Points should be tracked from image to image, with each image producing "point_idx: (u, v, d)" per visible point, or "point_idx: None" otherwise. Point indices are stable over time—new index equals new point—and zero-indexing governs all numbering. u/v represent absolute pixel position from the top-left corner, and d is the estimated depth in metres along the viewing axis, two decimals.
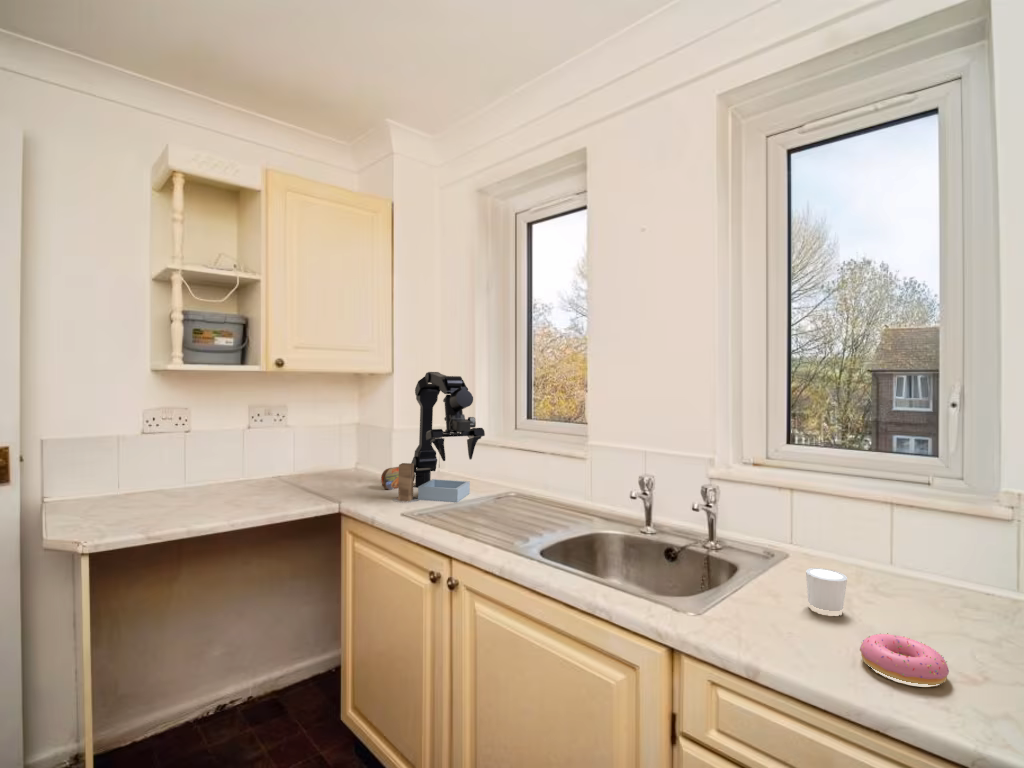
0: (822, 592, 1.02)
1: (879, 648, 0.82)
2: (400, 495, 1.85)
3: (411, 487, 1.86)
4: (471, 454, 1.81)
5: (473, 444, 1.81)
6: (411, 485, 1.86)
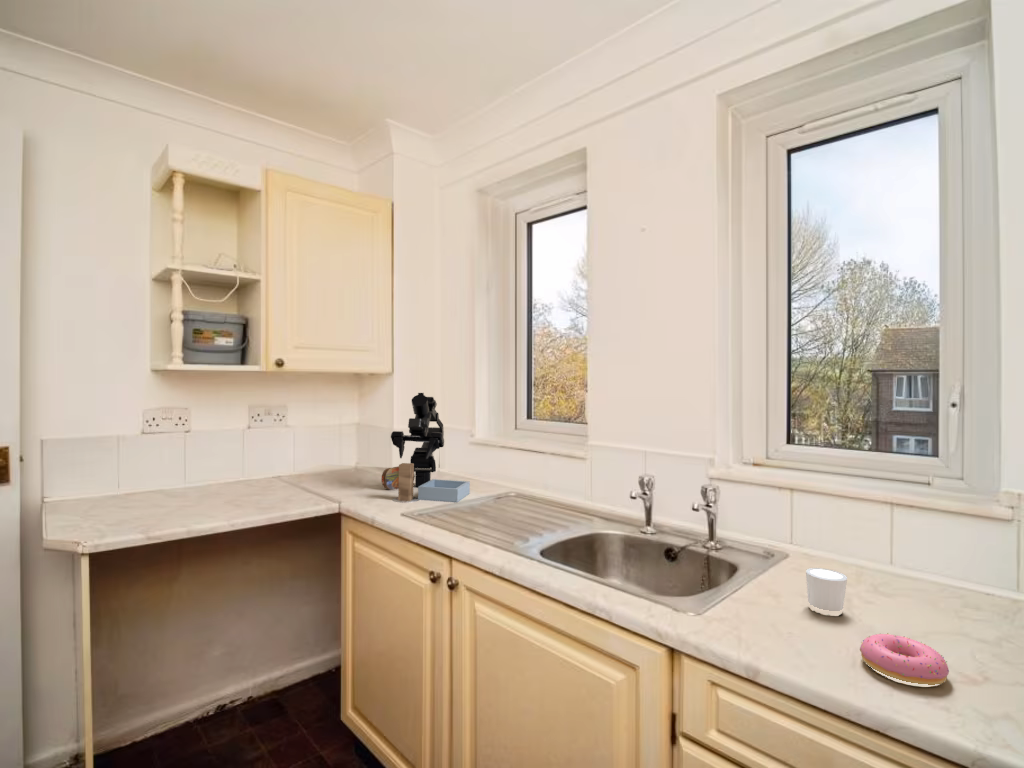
0: (822, 592, 1.02)
1: (879, 648, 0.82)
2: (400, 495, 1.85)
3: (411, 487, 1.86)
4: (426, 453, 1.94)
5: (429, 445, 1.96)
6: (411, 485, 1.86)
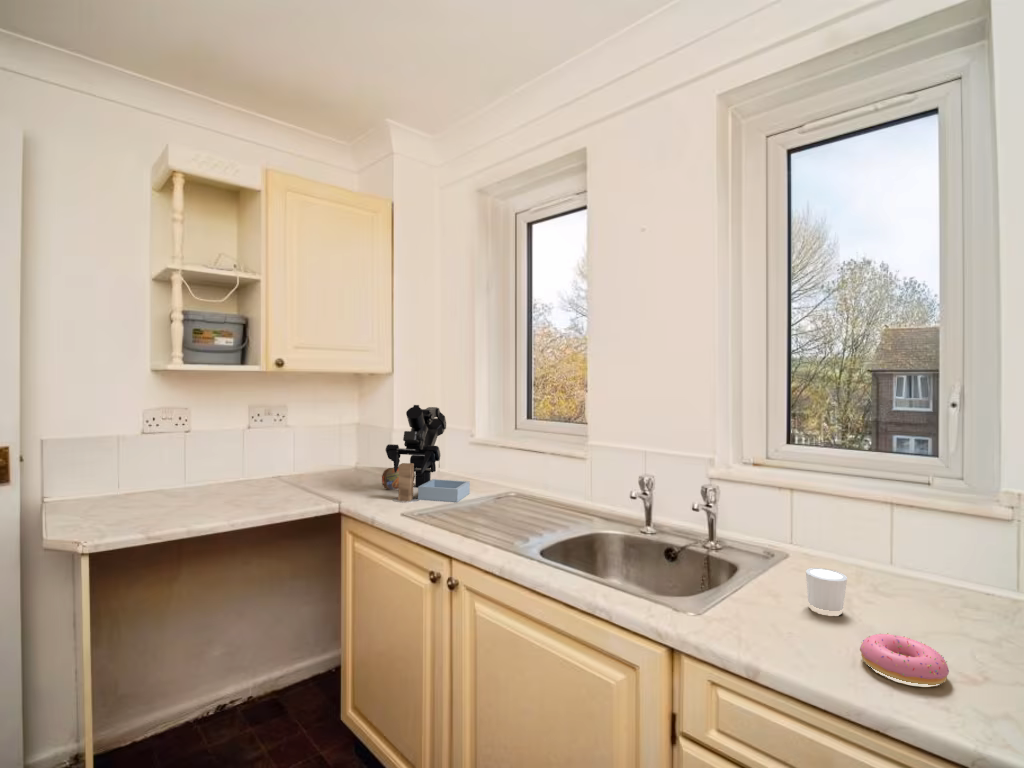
0: (822, 592, 1.02)
1: (879, 648, 0.82)
2: (400, 495, 1.85)
3: (411, 487, 1.86)
4: (422, 467, 1.89)
5: (425, 459, 1.90)
6: (411, 485, 1.86)
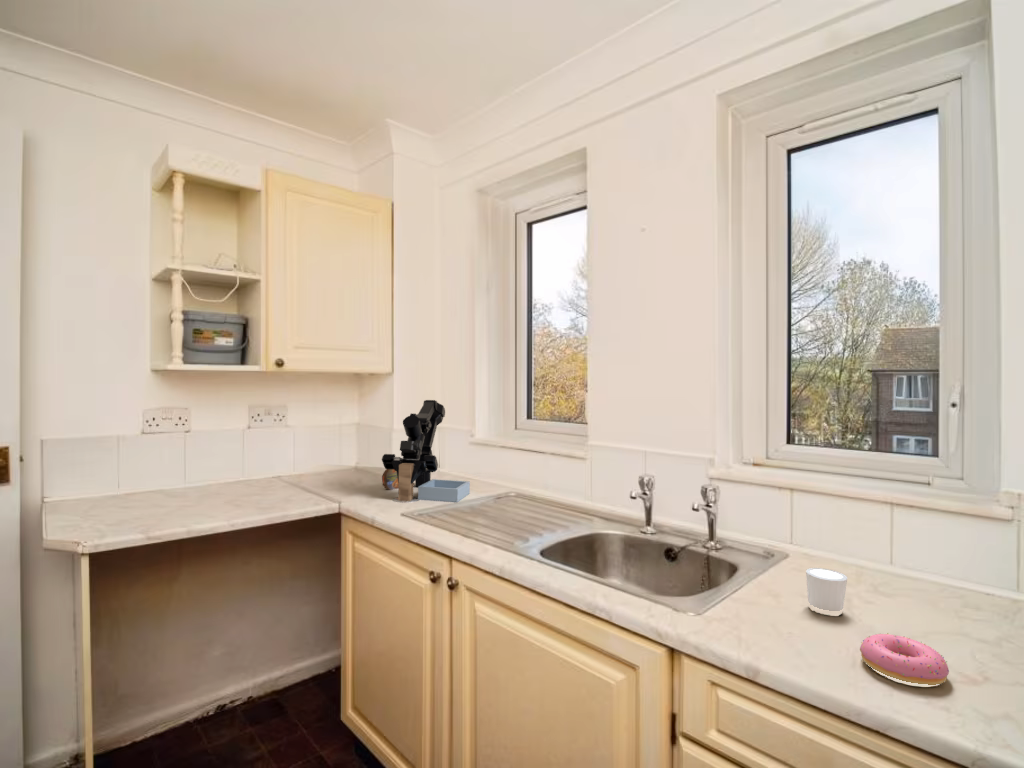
0: (822, 592, 1.02)
1: (879, 648, 0.82)
2: (400, 495, 1.85)
3: (411, 487, 1.86)
4: (412, 477, 1.85)
5: (415, 469, 1.87)
6: (411, 485, 1.86)
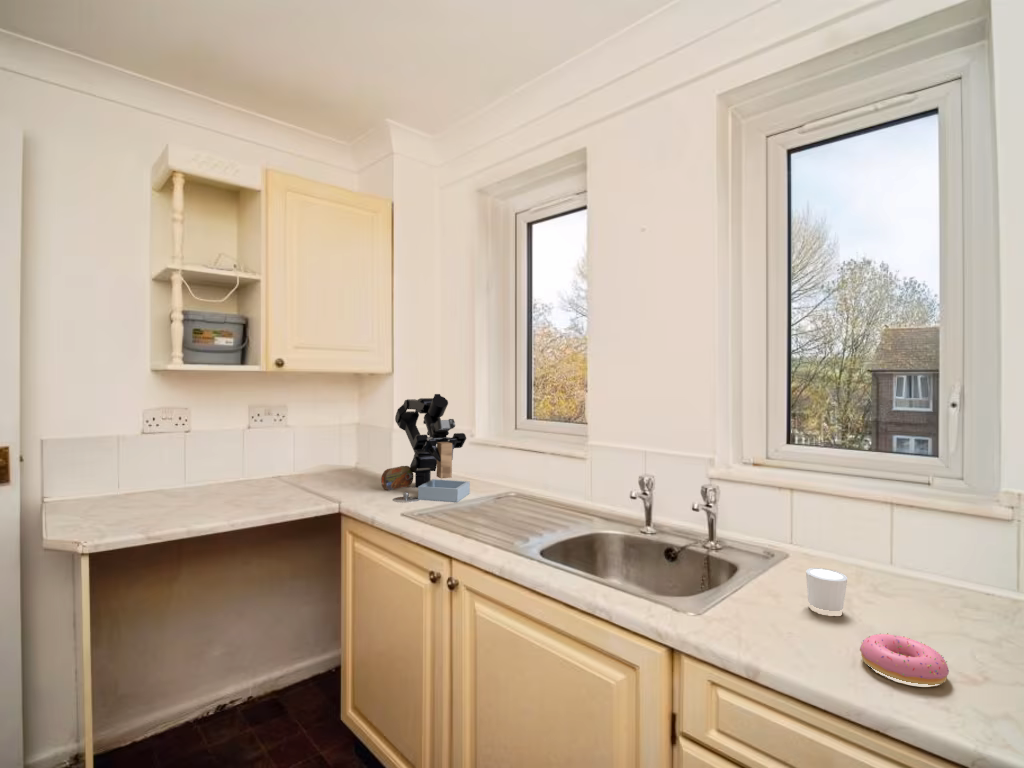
0: (822, 592, 1.02)
1: (879, 648, 0.82)
2: (442, 473, 1.89)
3: None
4: None
5: None
6: None
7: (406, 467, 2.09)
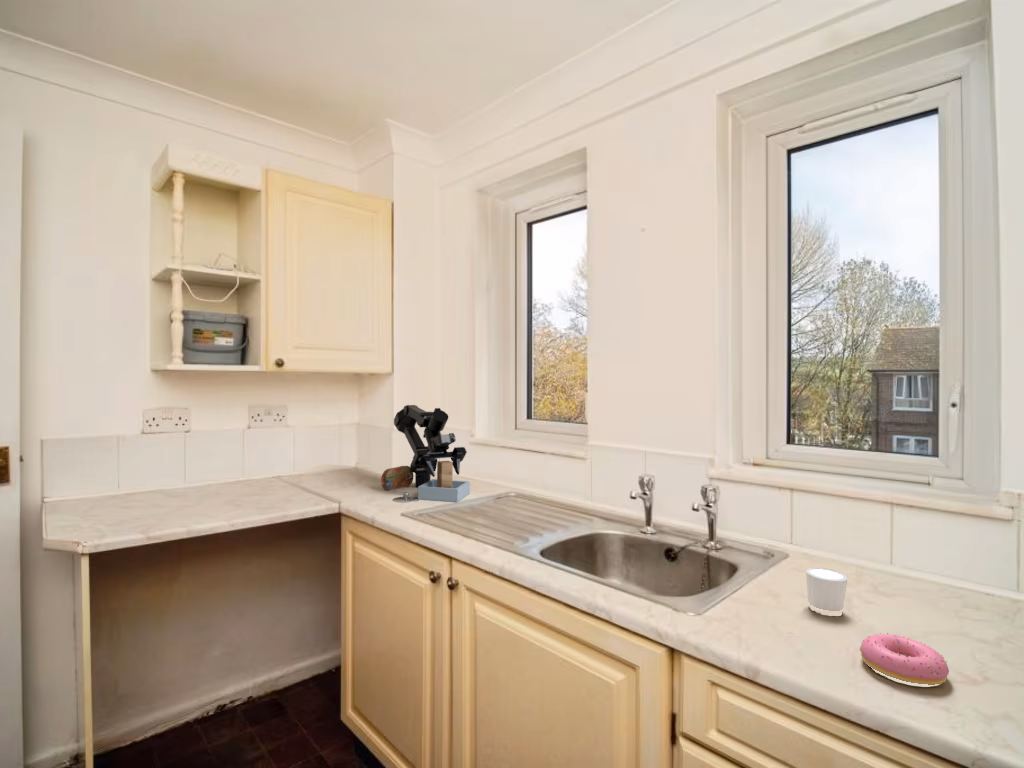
0: (822, 592, 1.02)
1: (879, 648, 0.82)
2: None
3: None
4: (458, 469, 1.93)
5: (458, 461, 1.95)
6: None
7: (406, 467, 2.09)
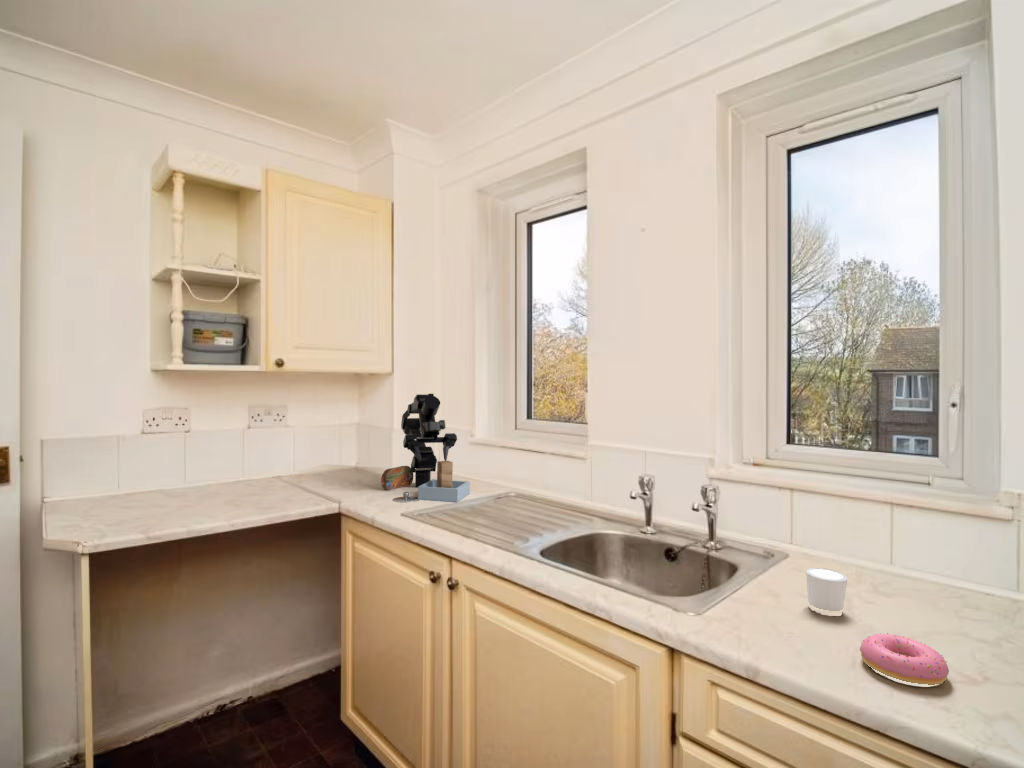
0: (822, 592, 1.02)
1: (879, 648, 0.82)
2: None
3: None
4: (446, 456, 1.97)
5: (447, 447, 1.98)
6: None
7: (406, 467, 2.09)
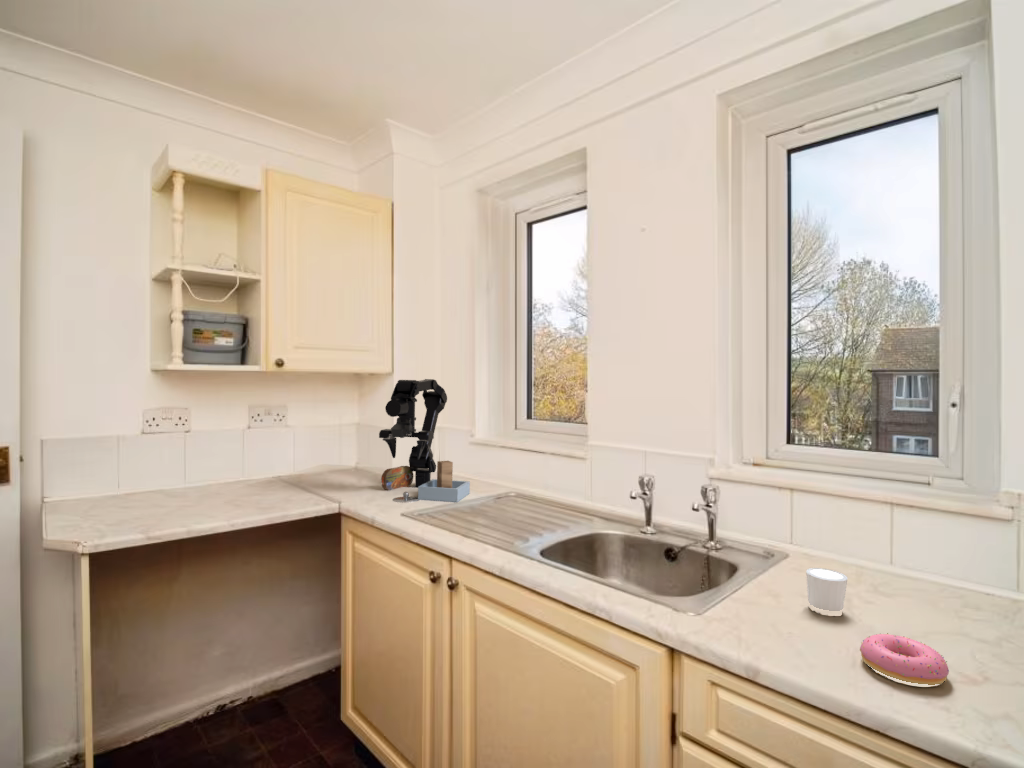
0: (822, 592, 1.02)
1: (879, 648, 0.82)
2: None
3: None
4: (417, 455, 1.94)
5: (419, 447, 1.93)
6: None
7: (406, 467, 2.09)
